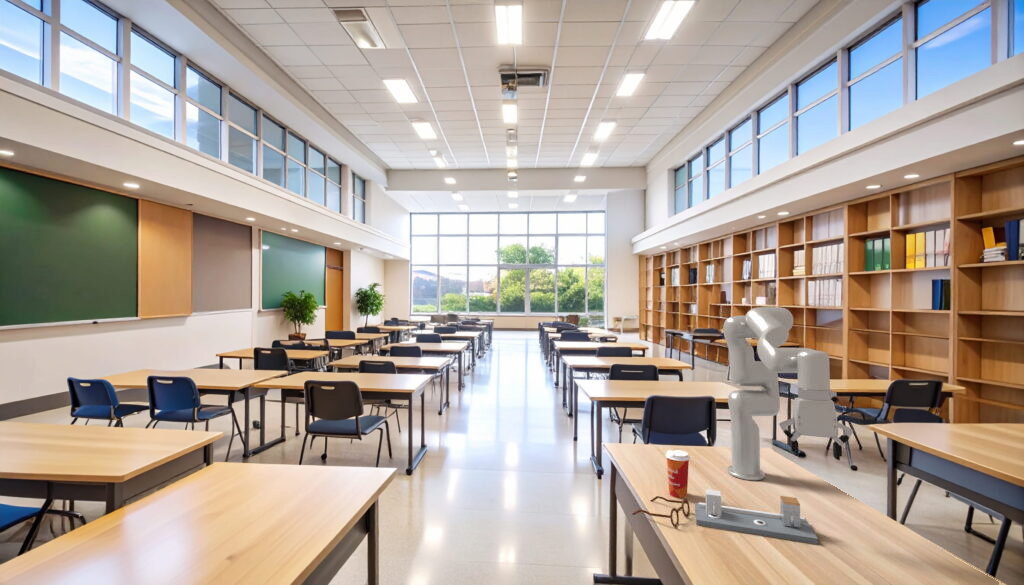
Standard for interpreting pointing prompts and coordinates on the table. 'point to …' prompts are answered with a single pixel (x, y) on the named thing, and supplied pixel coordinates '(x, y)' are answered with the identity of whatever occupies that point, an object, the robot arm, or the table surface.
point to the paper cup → (677, 473)
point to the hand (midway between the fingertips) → (815, 456)
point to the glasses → (671, 510)
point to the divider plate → (749, 520)
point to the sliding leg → (790, 511)
